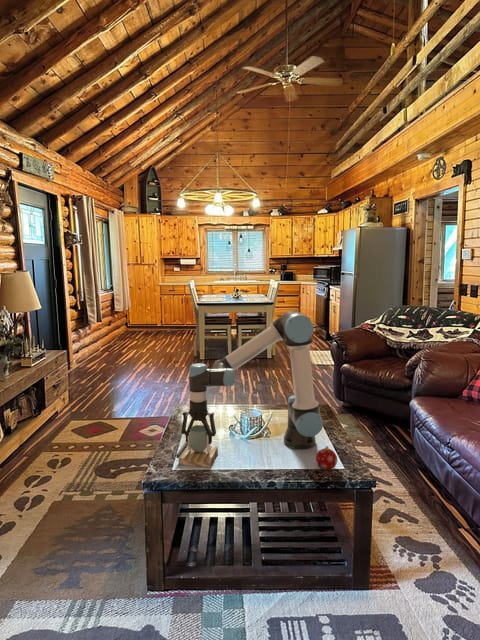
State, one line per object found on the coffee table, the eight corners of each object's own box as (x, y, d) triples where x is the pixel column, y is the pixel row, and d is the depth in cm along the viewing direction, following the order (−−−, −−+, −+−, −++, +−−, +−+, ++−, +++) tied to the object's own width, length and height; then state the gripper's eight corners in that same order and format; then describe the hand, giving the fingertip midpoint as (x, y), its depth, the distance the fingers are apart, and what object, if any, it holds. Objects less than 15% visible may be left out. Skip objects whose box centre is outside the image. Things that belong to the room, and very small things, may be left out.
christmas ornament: (322, 462, 178) (322, 440, 177) (340, 468, 172) (341, 445, 171) (312, 469, 171) (312, 446, 170) (330, 476, 166) (331, 452, 165)
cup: (205, 455, 176) (204, 432, 174) (187, 453, 177) (187, 431, 176) (209, 447, 183) (209, 425, 182) (193, 445, 185) (192, 424, 183)
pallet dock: (218, 452, 186) (217, 443, 186) (210, 467, 172) (210, 457, 172) (186, 450, 189) (186, 440, 188) (176, 464, 175) (176, 454, 175)
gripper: (223, 398, 179) (223, 447, 182) (178, 395, 183) (179, 444, 186) (219, 403, 172) (219, 455, 175) (172, 400, 175) (173, 451, 178)
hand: (198, 449), depth 180 cm, fingers closed on cup, 8 cm apart
